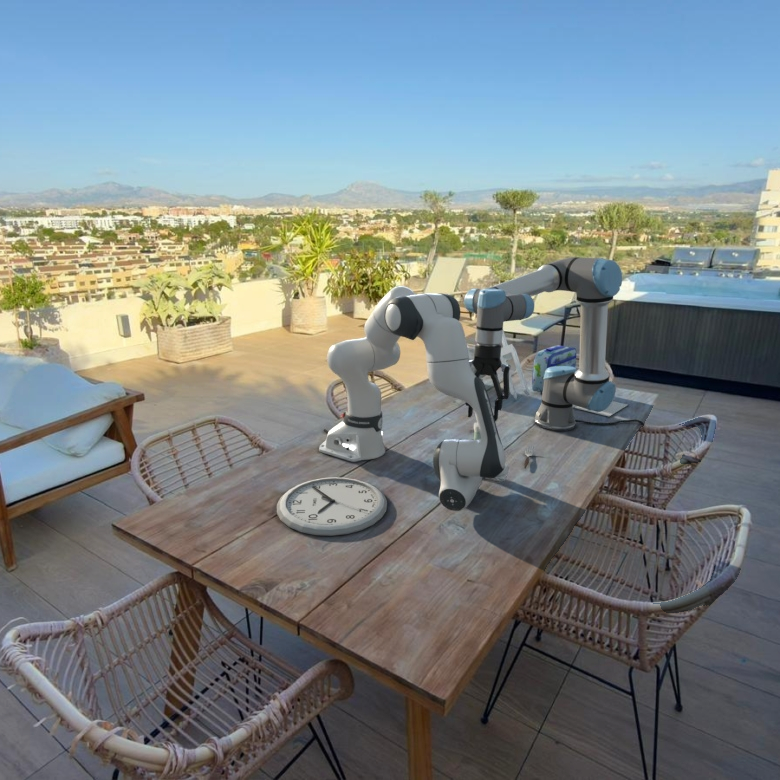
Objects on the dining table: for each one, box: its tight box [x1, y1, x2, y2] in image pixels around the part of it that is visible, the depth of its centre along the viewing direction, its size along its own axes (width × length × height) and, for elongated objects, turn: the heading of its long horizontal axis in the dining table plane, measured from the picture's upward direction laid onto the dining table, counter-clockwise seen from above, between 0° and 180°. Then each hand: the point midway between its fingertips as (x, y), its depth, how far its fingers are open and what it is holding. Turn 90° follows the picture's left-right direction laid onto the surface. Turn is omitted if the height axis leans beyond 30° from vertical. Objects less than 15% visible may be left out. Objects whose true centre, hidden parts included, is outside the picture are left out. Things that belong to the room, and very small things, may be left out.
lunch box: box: [531, 345, 577, 393], centre depth 245 cm, size 26×11×21 cm, turn 134°
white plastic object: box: [467, 330, 531, 400], centre depth 245 cm, size 37×45×31 cm
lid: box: [473, 421, 480, 433], centre depth 159 cm, size 5×5×2 cm
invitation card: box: [573, 400, 629, 418], centre depth 226 cm, size 21×1×15 cm
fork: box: [524, 445, 535, 469], centre depth 172 cm, size 3×16×2 cm, turn 160°
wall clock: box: [276, 476, 388, 537], centre depth 142 cm, size 30×2×30 cm
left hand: (478, 456), depth 160 cm, fingers open, 8 cm apart
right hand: (482, 417), depth 158 cm, fingers open, 7 cm apart
